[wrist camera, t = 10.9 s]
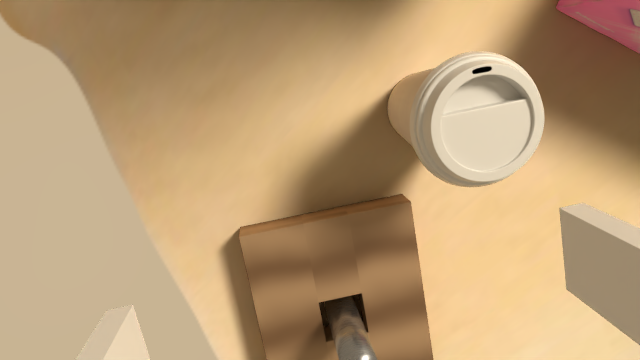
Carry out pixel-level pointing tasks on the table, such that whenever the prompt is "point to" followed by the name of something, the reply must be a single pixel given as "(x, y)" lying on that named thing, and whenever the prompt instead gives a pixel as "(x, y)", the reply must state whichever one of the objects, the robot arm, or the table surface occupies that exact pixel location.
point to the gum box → (608, 18)
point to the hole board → (338, 279)
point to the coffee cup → (469, 117)
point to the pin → (348, 330)
